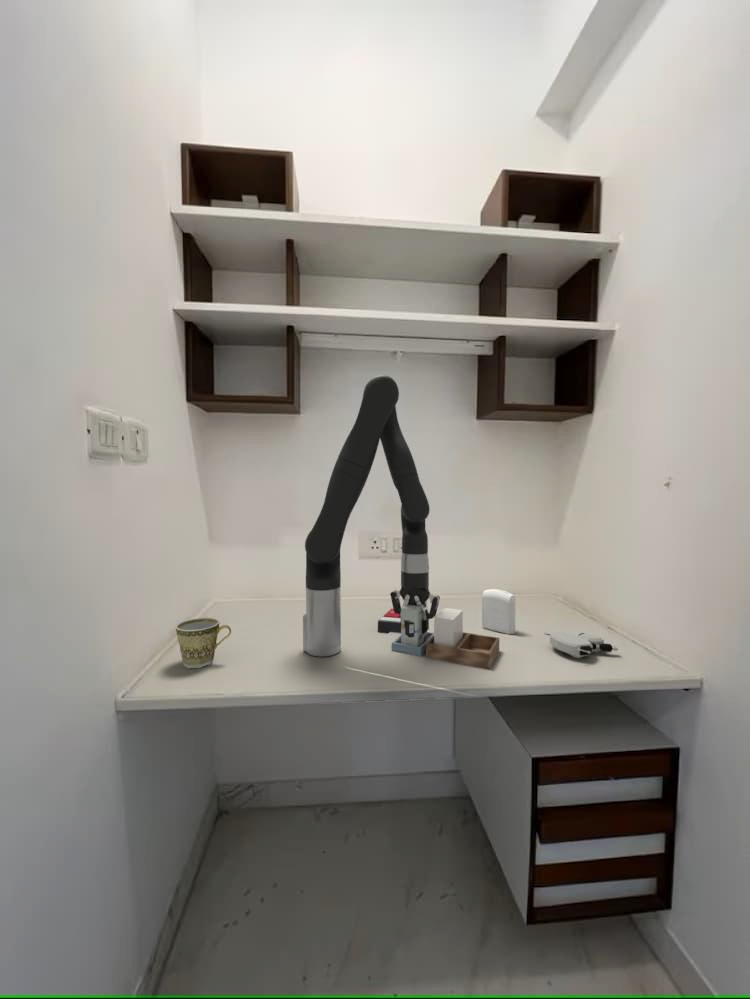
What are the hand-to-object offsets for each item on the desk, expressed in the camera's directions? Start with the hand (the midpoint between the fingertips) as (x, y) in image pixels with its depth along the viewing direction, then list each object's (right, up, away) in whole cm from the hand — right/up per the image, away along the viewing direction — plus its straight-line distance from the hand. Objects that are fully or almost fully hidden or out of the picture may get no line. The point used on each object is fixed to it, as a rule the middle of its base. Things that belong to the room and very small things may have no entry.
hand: (414, 630), depth 116 cm
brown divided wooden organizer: (+12, -5, -6) cm, 14 cm away
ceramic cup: (-53, -5, -10) cm, 54 cm away
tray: (0, -4, 0) cm, 4 cm away
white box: (+9, -4, -4) cm, 10 cm away
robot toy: (+44, -5, -3) cm, 44 cm away
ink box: (0, -5, 0) cm, 5 cm away
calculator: (-3, -5, +18) cm, 18 cm away
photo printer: (+27, -4, +14) cm, 30 cm away
